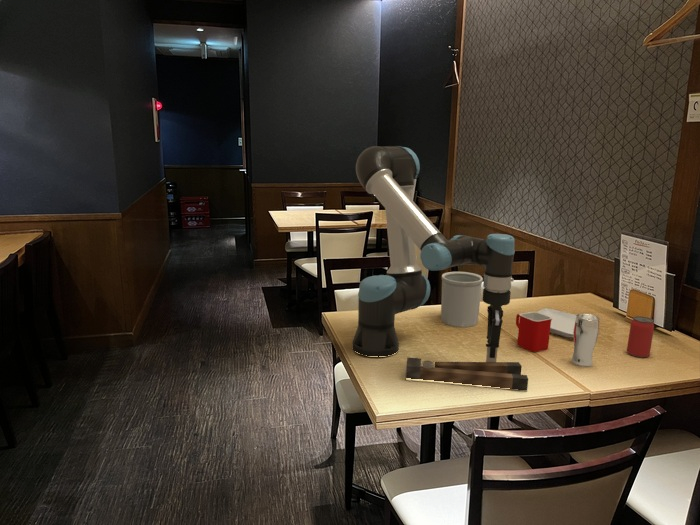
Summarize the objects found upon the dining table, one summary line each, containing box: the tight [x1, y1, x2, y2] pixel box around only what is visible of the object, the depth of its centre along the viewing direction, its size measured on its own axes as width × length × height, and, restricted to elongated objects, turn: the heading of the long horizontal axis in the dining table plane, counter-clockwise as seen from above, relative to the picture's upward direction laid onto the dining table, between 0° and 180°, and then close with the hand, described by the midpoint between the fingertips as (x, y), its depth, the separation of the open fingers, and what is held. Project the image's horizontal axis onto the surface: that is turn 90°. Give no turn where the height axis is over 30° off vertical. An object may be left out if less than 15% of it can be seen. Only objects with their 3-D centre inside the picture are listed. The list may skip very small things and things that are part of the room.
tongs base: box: [405, 357, 529, 391], centre depth 145 cm, size 33×6×5 cm, turn 81°
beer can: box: [626, 315, 655, 358], centre depth 165 cm, size 7×7×12 cm
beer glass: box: [570, 312, 600, 368], centre depth 157 cm, size 7×7×15 cm
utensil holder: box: [440, 271, 484, 328], centre depth 192 cm, size 15×15×18 cm
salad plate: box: [519, 307, 600, 338], centre depth 189 cm, size 21×21×3 cm
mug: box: [515, 311, 552, 353], centre depth 171 cm, size 12×8×11 cm
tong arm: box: [434, 361, 523, 375], centre depth 148 cm, size 24×2×4 cm, turn 91°
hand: (490, 366), depth 151 cm, fingers closed
